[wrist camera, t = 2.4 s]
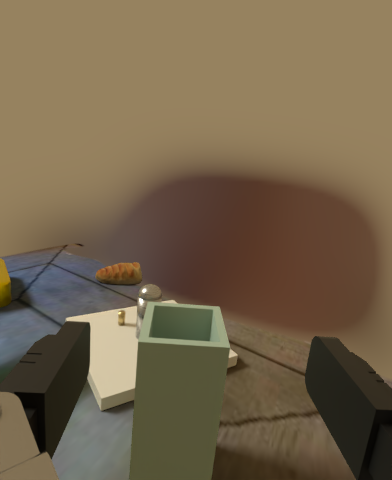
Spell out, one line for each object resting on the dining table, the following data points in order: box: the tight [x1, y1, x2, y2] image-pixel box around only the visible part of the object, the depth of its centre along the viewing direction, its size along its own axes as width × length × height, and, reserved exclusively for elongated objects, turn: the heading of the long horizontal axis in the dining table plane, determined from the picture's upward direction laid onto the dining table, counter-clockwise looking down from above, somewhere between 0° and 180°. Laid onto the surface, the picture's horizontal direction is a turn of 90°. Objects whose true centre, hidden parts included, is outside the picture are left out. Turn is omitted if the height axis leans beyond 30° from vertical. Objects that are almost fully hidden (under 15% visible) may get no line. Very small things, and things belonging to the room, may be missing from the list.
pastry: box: [96, 262, 142, 285], centre depth 66 cm, size 9×7×4 cm
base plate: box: [66, 284, 238, 411], centre depth 43 cm, size 18×18×9 cm
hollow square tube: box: [129, 302, 230, 480], centre depth 26 cm, size 8×6×14 cm
